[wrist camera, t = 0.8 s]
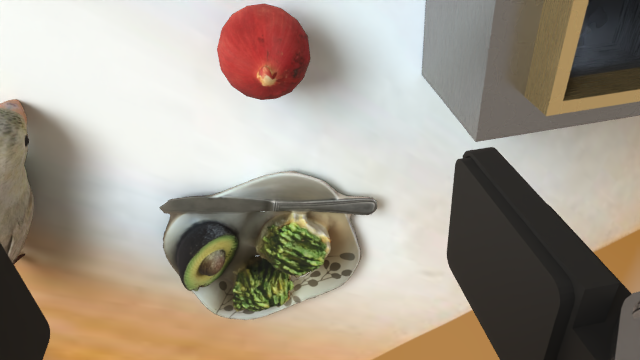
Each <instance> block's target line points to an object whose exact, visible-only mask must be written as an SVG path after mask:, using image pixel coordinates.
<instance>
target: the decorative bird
mask: <svg viewBox="0 0 640 360" xmlns="http://www.w3.org/2000/svg"><path fill="white" fill-rule="evenodd" d="M28 143H29V139H28V134H27V117H26V114H25V112H24V109H23V107H22V105H21V103H20V102H19V101H18V100H16V99H15V100H9V101H6V102H3V103H1V104H0V243H1V244H2V246H3V248H4V249H5V251H6V253H7V254H8V256H9V258H10V260H11V261H12V263H13V264H15V263H16V262H17V261H18V260H19V259H20V258H22V257H23V256H24V255H25V254H22V255H20V256H18V255H19V253H20V251H21V249H22V247H23V245H24V243H25V240H26V238H27V235H28V232H29V229H30V226H31V222H32V217H33V210H34V197H33V194H32V190H31V188H30V185H29V182H28V179H27V173H26V170H25V166H24V163H25V160H26V156H27V151H28ZM17 256H18V257H17Z"/></svg>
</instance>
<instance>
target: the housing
mask: <svg viewBox="0 0 640 360" xmlns="http://www.w3.org/2000/svg"><path fill="white" fill-rule="evenodd" d="M422 76H423V77H424V78H425V79H426V81H427V82H428V83H429V84H430V86H431V87H432V88H433V89H434V90H435V92H436V93H437V94H438V95H439V97H440V98H441V99H442V100H443V102H444V103H445V104H446V105H447V107H448V108H449V109H450V110H451V112H452V113H453V114H454V115H455V117H456V118H457V119H458V120H459V122H460V123H461V124H462V125H463V127H464V128H465V129H466V130H467V132H468V133H469V134H470V135H471V137H472V138H473V139H474V140H475V142H478V141H484V140H490V139H496V138H502V137H508V136H515V135H521V134H527V133H533V132H539V131H545V130H552V129H558V128H564V127H570V126H576V125H583V124H589V123H595V122H601V121H607V120H613V119H620V118H626V117H632V116H638V115H640V0H426V8H425V26H424V44H423V61H422Z"/></svg>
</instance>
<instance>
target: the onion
mask: <svg viewBox="0 0 640 360" xmlns="http://www.w3.org/2000/svg"><path fill="white" fill-rule="evenodd" d="M217 51H218V57H219V62H220V67H221V70H222V72H223V73H224V75H225V77H226V78H227V80H228V81H229V83H230V84H231V85H232V86H233V87H234V88H236V89H237V90H238V91H240V92H241V93H243V94H244V95H246V96H248V97H252V98H256V99H260V100H265V99H276V98H279V97H281V96H283V95H286V94H288V93H290V92H292V91H293V89H294V88H295V87H296V86H297V85H298V84H299V83H300V82H301V81H302V79H303V78H304V76H305V73H306V70H307V67H308V64H309V62H310V52H309V44H308V37H307V35H306V33H305V31H304V30H303V28H302V27H301V25H300V24H299V22H298V20H296V19H295V18H294V17H292V16H291V15H290V14H288V13H287V12H285V11H284V10H283V9H281V8H278V7H274V6H271V5H267V4H258V5H251V6H246V7H245V8H243V9H241V10H239V11H237V12H236V13H234V14H232V15H231V17H230V18H229V20H228V21H227V22H226V24H225V25H224V27H223V28H222V31H221V35H220V39H219V44H218V48H217Z"/></svg>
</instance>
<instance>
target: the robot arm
mask: <svg viewBox="0 0 640 360" xmlns="http://www.w3.org/2000/svg"><path fill="white" fill-rule="evenodd" d="M447 259H448V264H449V267H450V269H451V271H452V273H453V275H454V276H455V278H456V280H457V282H458V284H459V286H460V287H461V289H462V291H463V293H464V295H465V297H466V298H467V300H468V302H469V304H470V306H471V308H472V309H473V311H474V313H475V315H476V316H477V318H478V320H479V322H480V324H481V326H482V328H483V329H484V331H485V333H486V335H487V337H488V339H489V340H490V342H491V344H492V346H493V348H494V349H495V351H496V353H497V355H498V357H499V358H500V360H640V292H636V293H633V294H631V293H630V292H629V291H628V290H627V288H625V286H624V285H623V284H622V283H621V282H620V281H619V280H618V279H617V278H616V277H615V275H614V274H613V273H612V272H611V271H610V270H609V269H608V268H607V267H606V266H605V265H604V264H603V263H602V262H601V260H600V259H599V258H598V257H597V256H596V255H595V254H594V253H593V252H592V251H591V250H590V249H589V247H588V246H587V245H586V244H585V243H584V242H583V241H582V240H581V239H580V238H579V237H578V236H577V235H576V233H575V232H574V231H573V230H572V229H571V228H570V227H569V226H568V225H567V224H566V223H565V222H564V221H563V219H562V218H561V217H560V216H559V215H558V214H557V213H556V212H555V211H554V210H553V209H552V208H551V207H550V206H549V205H548V204H547V203H545V201H544V200H543V199H542V198H541V197H540V196H539V195H538V194H537V193H536V192H535V191H534V190H533V188H532V187H531V186H530V185H529V184H528V183H527V182H526V181H525V180H524V179H523V178H522V177H521V176H520V174H519V173H518V172H517V171H516V170H515V169H514V168H513V167H512V166H511V165H510V164H509V163H508V161H507V160H506V159H505V158H504V157H503V156H502V155H501V154H500V153H499V152H498V151H497V150H496V149H495V148H493V147H490V148H483V149H477V150H470V151H466V152H465V153H464V155H463V159H458V160H457V161H456V164H455V173H454V184H453V194H452V205H451V215H450V226H449V236H448V246H447ZM49 339H50V328H49V324H48V322H47V320H46V319H45V317H44V315H43V314H42V312H41V310H40V308H39V307H38V305H37V303H36V302H35V300H34V298H33V297H32V295H31V293H30V292H29V290H28V288H27V287H26V285H25V283H24V281H23V280H22V278H21V276H20V275H19V273H18V271H17V270H16V268H15V266H14V265H13V263H12V261H11V260H10V258H9V256H8V254H7V253H6V251H5V249H4V248H3V246H2V244H1V243H0V360H43V357H44V354H45V351H46V348H47V346H48V343H49Z"/></svg>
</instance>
